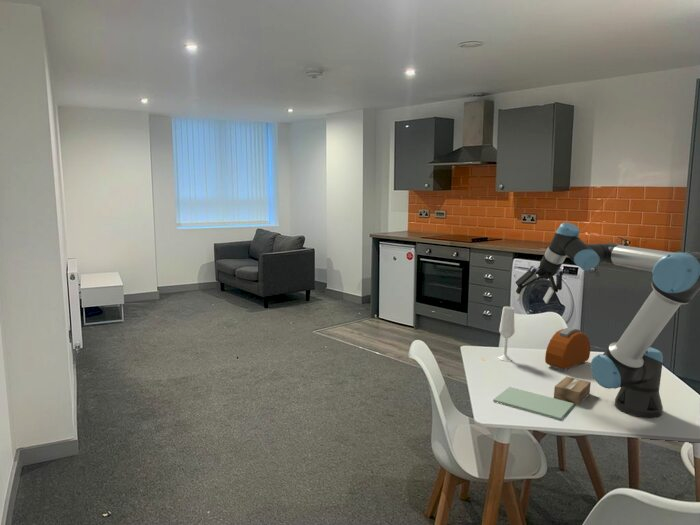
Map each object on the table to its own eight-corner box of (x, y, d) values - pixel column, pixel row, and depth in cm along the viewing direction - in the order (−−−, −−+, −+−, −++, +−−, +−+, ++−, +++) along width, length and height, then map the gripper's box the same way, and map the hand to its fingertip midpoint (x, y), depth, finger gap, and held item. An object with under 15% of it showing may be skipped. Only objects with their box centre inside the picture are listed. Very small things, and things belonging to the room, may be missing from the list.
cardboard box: (589, 394, 204) (590, 381, 204) (578, 405, 194) (579, 392, 193) (565, 388, 210) (566, 376, 209) (553, 398, 199) (554, 386, 198)
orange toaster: (571, 357, 248) (574, 322, 245) (590, 362, 241) (593, 326, 238) (543, 367, 233) (546, 330, 231) (562, 373, 226) (566, 335, 224)
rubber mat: (573, 405, 193) (573, 403, 193) (560, 420, 180) (560, 418, 180) (509, 388, 207) (509, 386, 207) (493, 401, 195) (493, 399, 194)
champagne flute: (510, 362, 238) (514, 310, 235) (495, 359, 242) (499, 308, 238) (514, 358, 244) (517, 307, 241) (499, 355, 247) (502, 305, 244)
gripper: (575, 256, 214) (552, 296, 226) (521, 250, 207) (500, 292, 219) (585, 267, 208) (561, 308, 220) (529, 262, 201) (507, 304, 213)
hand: (530, 300), depth 220 cm, fingers open, 13 cm apart
